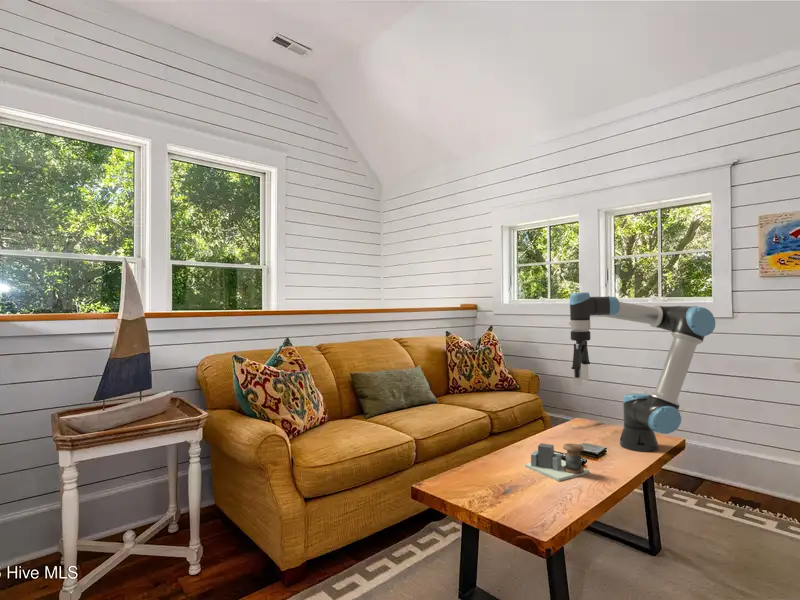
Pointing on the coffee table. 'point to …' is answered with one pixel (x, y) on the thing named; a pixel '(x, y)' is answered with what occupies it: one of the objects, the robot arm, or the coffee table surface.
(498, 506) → the coffee table surface
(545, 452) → the gray rectangular block
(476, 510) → the coffee table surface
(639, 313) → the robot arm
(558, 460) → the notch
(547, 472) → the board
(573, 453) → the bobbin
